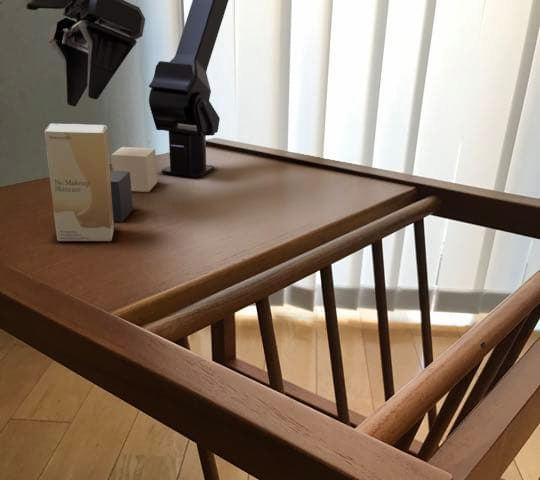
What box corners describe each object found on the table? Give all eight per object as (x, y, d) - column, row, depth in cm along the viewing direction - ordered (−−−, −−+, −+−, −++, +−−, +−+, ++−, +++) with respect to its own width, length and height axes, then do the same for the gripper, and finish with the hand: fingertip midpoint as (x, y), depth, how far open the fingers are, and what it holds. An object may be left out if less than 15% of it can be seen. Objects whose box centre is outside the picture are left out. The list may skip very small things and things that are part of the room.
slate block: (95, 207, 83) (91, 169, 80) (133, 209, 82) (129, 171, 80) (82, 219, 78) (78, 179, 76) (122, 222, 78) (118, 181, 76)
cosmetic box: (56, 243, 71) (40, 130, 65) (61, 230, 75) (46, 122, 69) (114, 241, 72) (103, 130, 66) (116, 229, 76) (106, 123, 70)
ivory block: (124, 181, 94) (121, 146, 92) (157, 182, 94) (155, 148, 91) (114, 190, 90) (111, 154, 87) (148, 192, 90) (146, 156, 87)
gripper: (17, -43, 77) (-3, 87, 79) (54, -96, 62) (28, 67, 64) (105, -4, 83) (84, 116, 86) (158, -44, 68) (131, 103, 70)
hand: (81, 102), depth 76 cm, fingers open, 9 cm apart
